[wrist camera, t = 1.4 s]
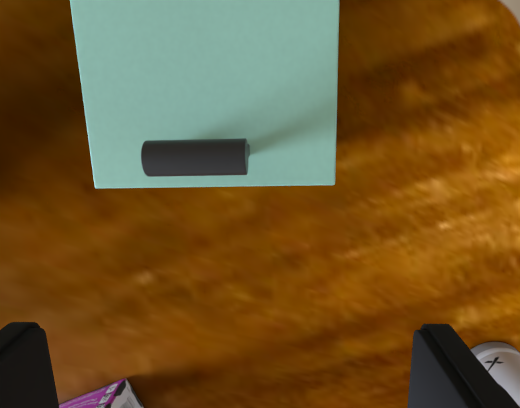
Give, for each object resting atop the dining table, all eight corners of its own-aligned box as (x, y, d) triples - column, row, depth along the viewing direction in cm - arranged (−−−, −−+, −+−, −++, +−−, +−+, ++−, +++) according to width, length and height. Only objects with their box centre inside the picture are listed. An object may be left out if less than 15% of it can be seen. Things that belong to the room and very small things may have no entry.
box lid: (333, 182, 23) (349, 203, 17) (100, 186, 24) (48, 206, 18) (340, -137, 19) (364, -234, 14) (61, -119, 20) (-19, -204, 14)
